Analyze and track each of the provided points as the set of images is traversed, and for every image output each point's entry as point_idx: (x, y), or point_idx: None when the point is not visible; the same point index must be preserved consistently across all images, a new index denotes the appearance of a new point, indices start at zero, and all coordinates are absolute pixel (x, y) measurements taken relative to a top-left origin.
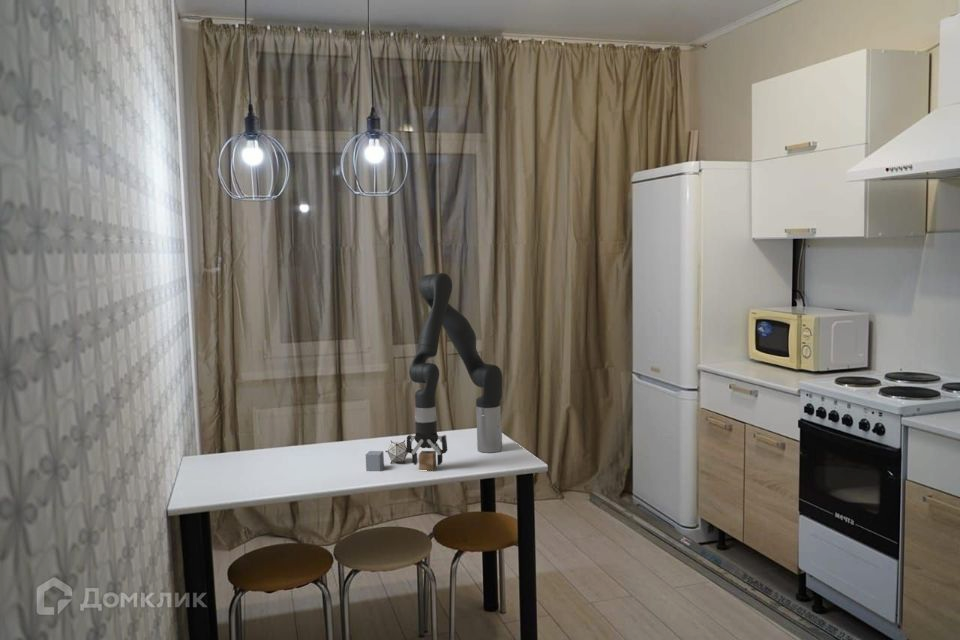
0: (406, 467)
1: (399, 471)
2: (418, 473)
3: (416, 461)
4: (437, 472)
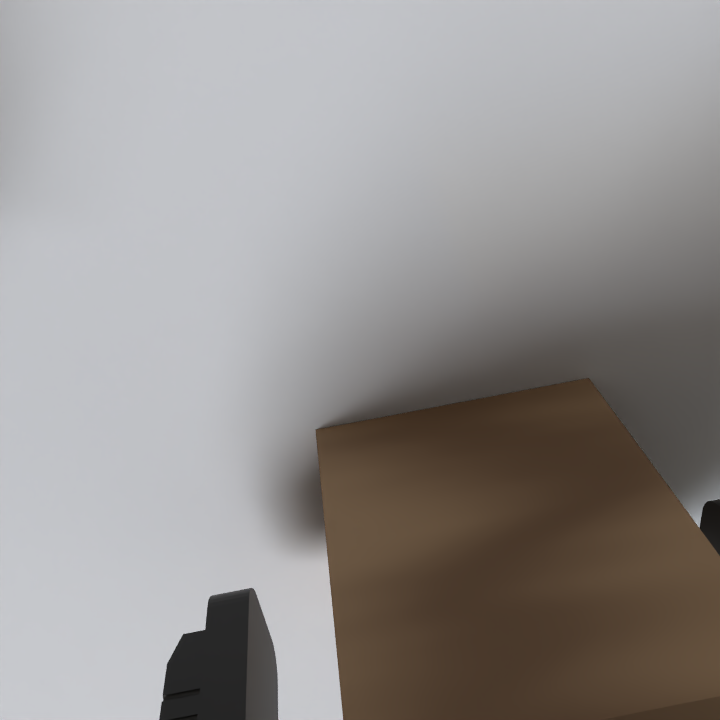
0: (13, 519)
1: (52, 692)
2: None
3: (265, 676)
4: None
